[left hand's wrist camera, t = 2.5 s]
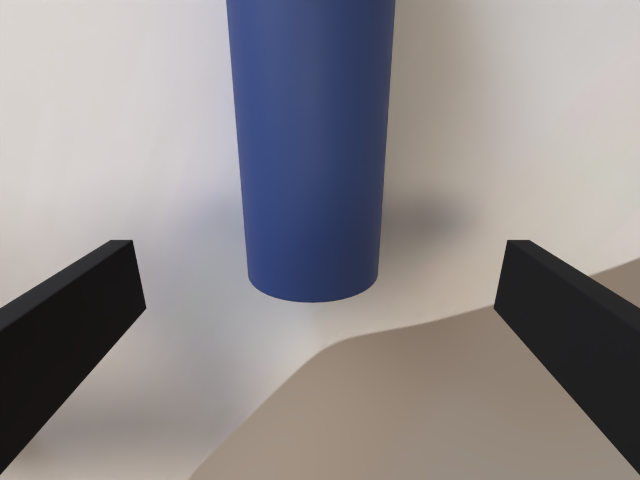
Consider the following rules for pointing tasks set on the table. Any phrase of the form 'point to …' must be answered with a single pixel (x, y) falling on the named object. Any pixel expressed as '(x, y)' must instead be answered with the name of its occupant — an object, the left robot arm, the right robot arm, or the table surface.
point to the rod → (311, 141)
